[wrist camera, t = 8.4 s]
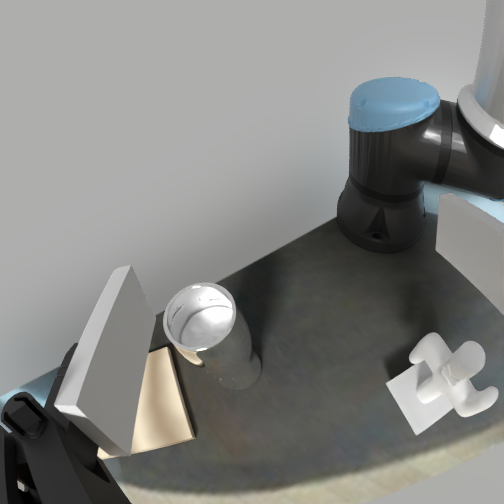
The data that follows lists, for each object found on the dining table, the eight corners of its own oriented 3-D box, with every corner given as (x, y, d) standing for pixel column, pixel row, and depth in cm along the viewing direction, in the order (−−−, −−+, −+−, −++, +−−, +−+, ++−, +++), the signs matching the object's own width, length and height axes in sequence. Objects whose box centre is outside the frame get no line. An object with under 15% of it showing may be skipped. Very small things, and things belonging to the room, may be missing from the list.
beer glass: (205, 353, 39) (156, 295, 27) (255, 336, 39) (226, 269, 28) (219, 401, 34) (167, 363, 23) (272, 383, 34) (249, 336, 23)
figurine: (420, 353, 33) (467, 292, 21) (456, 411, 26) (524, 374, 15) (374, 383, 32) (408, 334, 20) (410, 445, 26) (468, 431, 14)
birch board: (170, 350, 40) (166, 346, 39) (195, 438, 31) (192, 437, 30) (72, 382, 38) (67, 380, 37) (84, 461, 30) (79, 460, 29)
